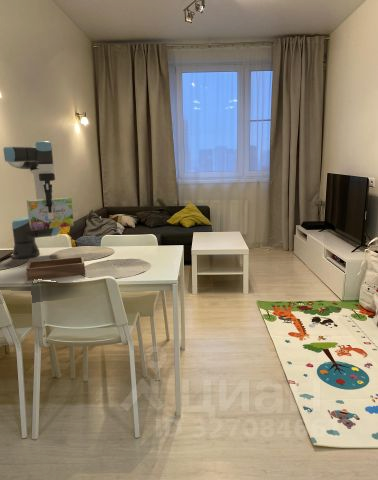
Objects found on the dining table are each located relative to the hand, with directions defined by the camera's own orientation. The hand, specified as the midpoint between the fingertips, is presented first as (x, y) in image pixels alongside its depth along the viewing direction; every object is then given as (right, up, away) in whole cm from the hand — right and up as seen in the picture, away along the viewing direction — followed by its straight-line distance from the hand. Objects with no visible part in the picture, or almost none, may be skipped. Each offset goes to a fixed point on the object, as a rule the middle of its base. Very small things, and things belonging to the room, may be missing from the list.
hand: (51, 217), depth 189 cm
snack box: (0, -5, +1) cm, 5 cm away
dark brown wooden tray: (+4, -29, -2) cm, 29 cm away
